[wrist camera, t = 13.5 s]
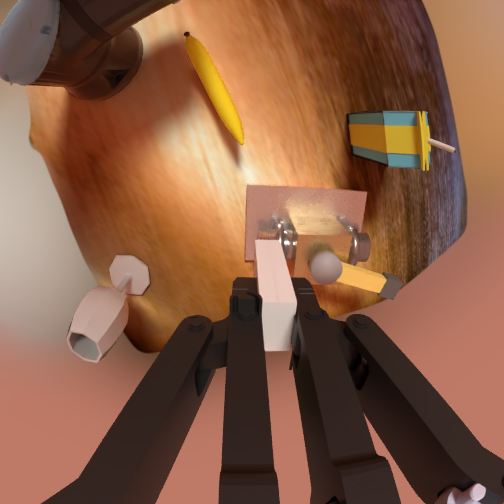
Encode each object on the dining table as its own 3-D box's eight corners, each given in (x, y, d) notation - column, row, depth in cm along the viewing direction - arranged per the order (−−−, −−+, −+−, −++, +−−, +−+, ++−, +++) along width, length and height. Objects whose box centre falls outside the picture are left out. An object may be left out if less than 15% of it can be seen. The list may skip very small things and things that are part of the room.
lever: (304, 273, 40) (306, 280, 38) (316, 246, 39) (319, 252, 37) (386, 296, 43) (391, 303, 41) (399, 273, 41) (404, 279, 39)
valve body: (245, 257, 50) (245, 286, 41) (247, 183, 45) (247, 198, 36) (353, 259, 51) (373, 286, 42) (364, 190, 45) (390, 206, 37)
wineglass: (147, 298, 54) (111, 377, 34) (108, 284, 52) (60, 354, 33) (155, 261, 50) (112, 337, 31) (113, 247, 49) (55, 312, 30)
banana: (234, 147, 42) (232, 150, 37) (184, 47, 35) (175, 36, 29) (251, 139, 42) (252, 141, 36) (201, 39, 35) (194, 27, 29)
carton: (392, 153, 43) (457, 173, 26) (351, 156, 43) (407, 176, 27) (387, 111, 40) (454, 112, 23) (346, 112, 40) (402, 108, 24)
